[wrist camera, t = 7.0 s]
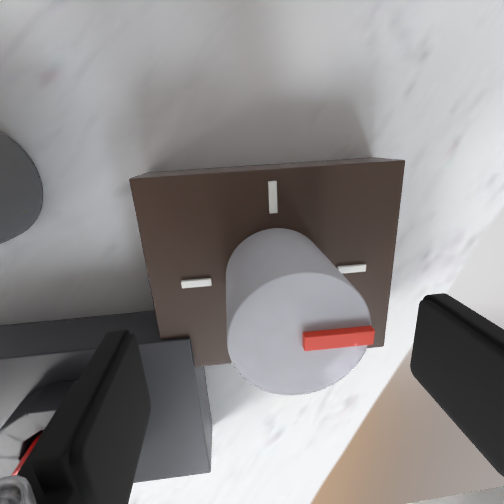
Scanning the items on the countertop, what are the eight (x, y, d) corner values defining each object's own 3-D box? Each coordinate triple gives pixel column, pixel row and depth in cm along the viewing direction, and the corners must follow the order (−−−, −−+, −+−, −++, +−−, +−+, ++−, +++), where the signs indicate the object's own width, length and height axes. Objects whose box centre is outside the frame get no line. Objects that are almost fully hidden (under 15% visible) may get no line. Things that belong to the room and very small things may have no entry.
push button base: (24, 450, 20) (-34, 540, 16) (-32, 328, 17) (-128, 397, 12) (212, 427, 21) (209, 506, 17) (195, 306, 18) (185, 363, 13)
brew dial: (229, 322, 15) (232, 410, 10) (221, 231, 13) (220, 283, 8) (321, 313, 15) (369, 394, 10) (325, 224, 14) (384, 269, 9)
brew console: (175, 336, 18) (166, 373, 16) (146, 172, 15) (127, 179, 12) (360, 317, 19) (385, 348, 16) (373, 157, 16) (408, 160, 13)
